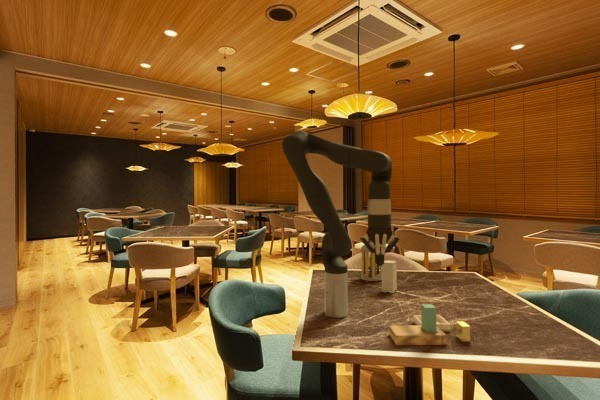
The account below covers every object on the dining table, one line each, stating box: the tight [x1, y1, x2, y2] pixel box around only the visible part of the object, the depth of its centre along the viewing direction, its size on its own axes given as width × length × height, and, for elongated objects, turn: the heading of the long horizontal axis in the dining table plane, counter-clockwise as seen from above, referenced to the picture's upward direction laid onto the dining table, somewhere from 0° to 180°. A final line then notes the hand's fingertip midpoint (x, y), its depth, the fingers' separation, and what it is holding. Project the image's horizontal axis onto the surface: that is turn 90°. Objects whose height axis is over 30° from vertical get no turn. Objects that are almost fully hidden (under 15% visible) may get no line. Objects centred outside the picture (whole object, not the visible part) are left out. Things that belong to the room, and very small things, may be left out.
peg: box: [420, 303, 437, 333], centre depth 106 cm, size 4×4×11 cm
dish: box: [412, 314, 452, 332], centre depth 117 cm, size 10×9×2 cm
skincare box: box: [381, 259, 398, 294], centre depth 162 cm, size 8×6×15 cm
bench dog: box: [455, 321, 471, 343], centre depth 106 cm, size 2×4×5 cm, turn 0°
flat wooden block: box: [388, 324, 447, 346], centre depth 106 cm, size 16×8×3 cm, turn 90°
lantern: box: [359, 237, 382, 280], centre depth 186 cm, size 14×14×25 cm
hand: (379, 265), depth 106 cm, fingers closed
